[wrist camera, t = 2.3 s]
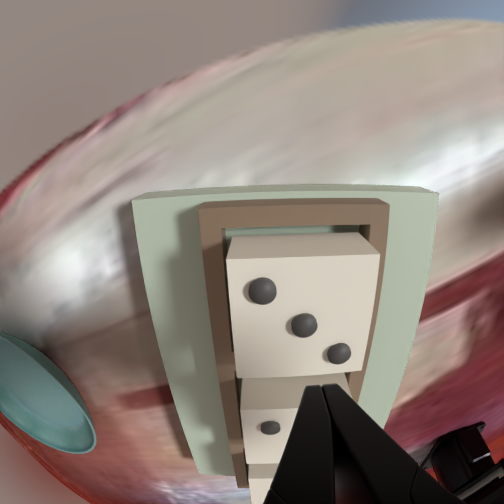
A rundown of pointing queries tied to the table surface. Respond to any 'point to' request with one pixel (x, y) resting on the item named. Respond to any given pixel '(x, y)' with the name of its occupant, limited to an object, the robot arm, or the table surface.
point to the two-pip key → (275, 412)
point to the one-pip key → (260, 480)
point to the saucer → (42, 398)
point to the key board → (218, 304)
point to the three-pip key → (300, 302)
